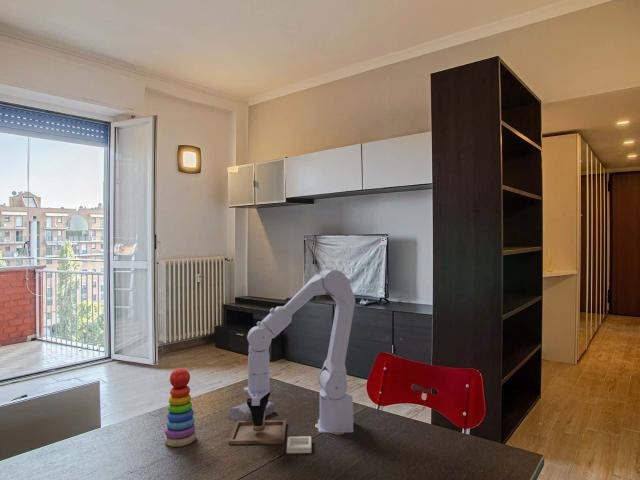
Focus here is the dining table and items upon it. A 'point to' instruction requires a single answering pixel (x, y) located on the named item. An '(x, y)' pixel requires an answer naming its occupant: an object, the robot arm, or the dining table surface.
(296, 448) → the holder
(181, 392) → the stacking toy
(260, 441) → the tray
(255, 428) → the dowel
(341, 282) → the robot arm
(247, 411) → the stone block
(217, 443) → the dining table surface
